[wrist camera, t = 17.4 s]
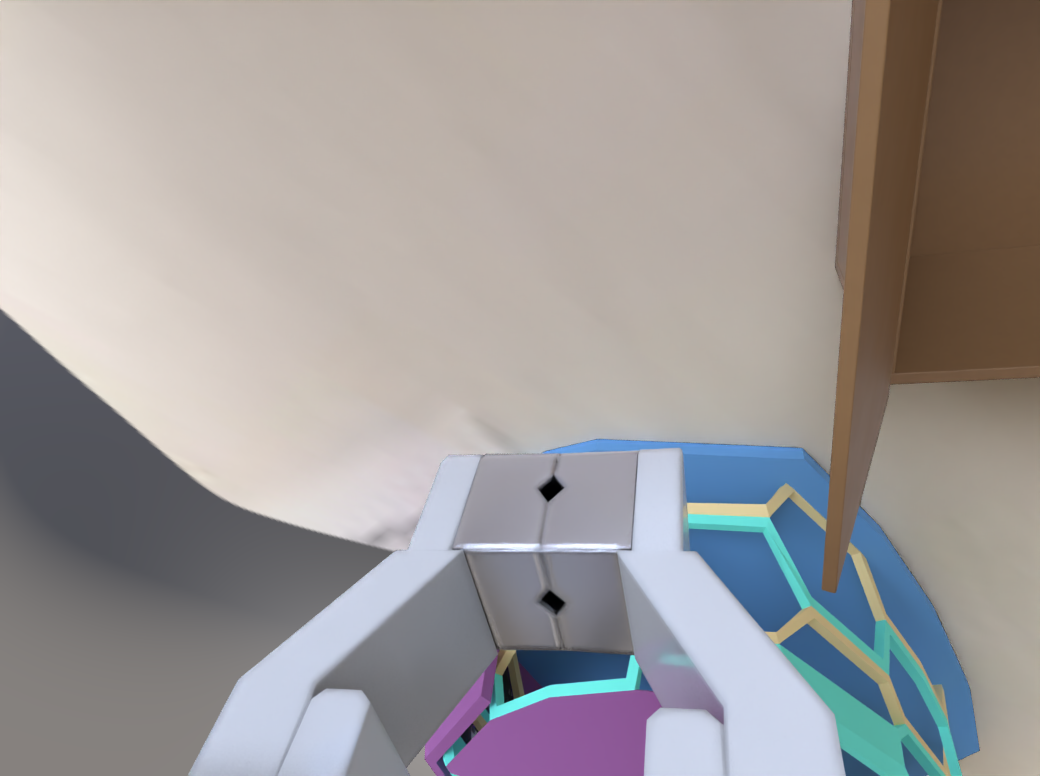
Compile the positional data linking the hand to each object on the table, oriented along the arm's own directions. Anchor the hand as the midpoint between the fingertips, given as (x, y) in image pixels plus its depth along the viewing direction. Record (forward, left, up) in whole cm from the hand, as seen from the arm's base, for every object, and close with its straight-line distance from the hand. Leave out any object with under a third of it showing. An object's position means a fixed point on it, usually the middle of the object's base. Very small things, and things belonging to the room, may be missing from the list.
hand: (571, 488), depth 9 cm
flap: (+5, 0, -8) cm, 9 cm away
